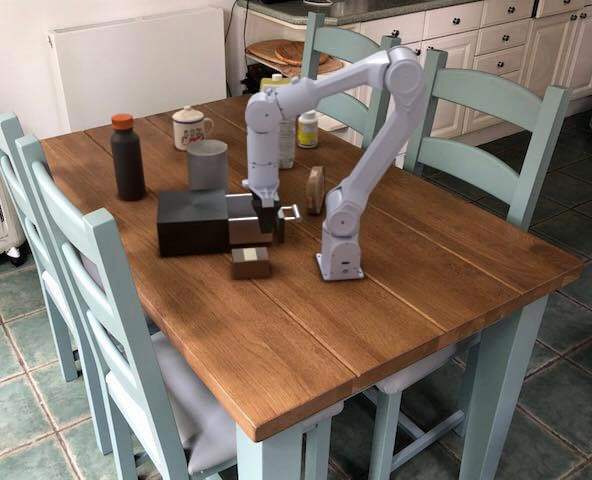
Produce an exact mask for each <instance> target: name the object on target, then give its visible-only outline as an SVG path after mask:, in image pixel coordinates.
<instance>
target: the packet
mask: <svg viewBox="0 0 592 480" xmlns="http://www.w3.org/2000/svg"><path fill="white" fill-rule="evenodd" d="M231 262H232V263H231V264H232V267H231V268H232V274H233V280H244V279H245V280H247V279H258V278H259V279H260V278H270V258H269V253H268V249H267V247H266V246H263V247H247V248H232V249H231Z"/></svg>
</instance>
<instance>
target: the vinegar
mask: <svg viewBox="0 0 592 480" xmlns="http://www.w3.org/2000/svg"><path fill="white" fill-rule="evenodd" d="M110 121H111V127H112V130H113V134H112V135H111V136H110V139H109V140H110V141H109V143H110V148H111V155H112V162H113V163H112V164H113V168H114V176H115V181H116V182H115V183H116V189H117V194H118V197H119V198H120V199H121V200H124V201H136V200H140V199H142V198H144V197H145V196H146V194H147V188H146V181H145V172H144V171H145V170H144V165H143V164H144V163H143V157H142V147H141V141H140V140H141V139H140V135H139V134H138V133H137V132H135V131H134V128H135V124H134V117H133V115H132V114H130V113H117V114H114V115H112V116H111V117H110Z"/></svg>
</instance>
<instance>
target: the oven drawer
mask: <svg viewBox="0 0 592 480" xmlns="http://www.w3.org/2000/svg"><path fill="white" fill-rule="evenodd" d="M251 200H253V197H252V194H251V193H235V194H229V195H226V203H227V211H228V218H229V239H230V245H242V244H243V245H244V244H259V243H273V241H274V240H273V232H272V233H268V234H261V231H260V227H259V223H258V218H257V215H256V213H255V211H254V209H253V207H252V204H251ZM275 200H280V196H279V194H278V190H277V191H276V193H275V195H274V201H275ZM285 211H287V212H289V211H291V212H292V216H293V217H285V214H284V212H285ZM302 221H303V218H302V216H301V213H300V210H299V206H298V204H295V203H294V204H292V205H291V206H283V207H282V206H281V208H280V210H279V211H278V213H277V216H276V218H275V222H274V230H275V234H276V237H277V241H278V244H279V245H285V244H286V243H285V242H286V241H285V240H286V239H285V237H286V234H285V233H286V230H285V229H286V222H295V223H297V224H300V223H301V222H302Z"/></svg>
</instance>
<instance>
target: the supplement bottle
mask: <svg viewBox="0 0 592 480" xmlns="http://www.w3.org/2000/svg"><path fill="white" fill-rule="evenodd" d="M297 123H298V124H297V125H298V126H297V127H298V128H297V144H298V146H299V147H301V148H304V149H311V148H315V147H316V146H317V145H318V130H319V129H318V128H319V118H318V117H317V116H316V109H314V110H311V111H308V112H306V113H303V114H301V115H299V117H298V122H297Z"/></svg>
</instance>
